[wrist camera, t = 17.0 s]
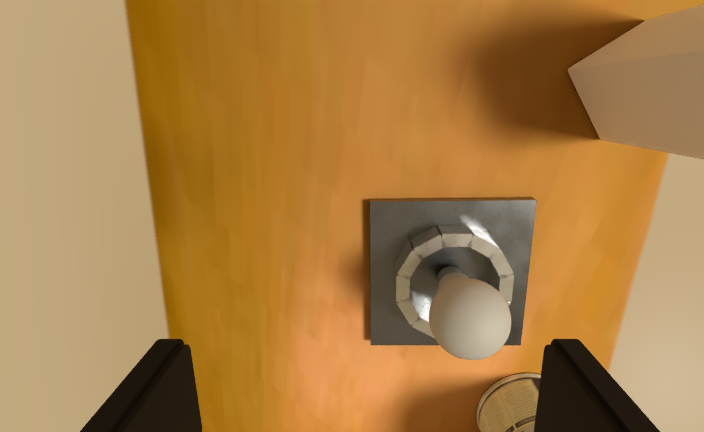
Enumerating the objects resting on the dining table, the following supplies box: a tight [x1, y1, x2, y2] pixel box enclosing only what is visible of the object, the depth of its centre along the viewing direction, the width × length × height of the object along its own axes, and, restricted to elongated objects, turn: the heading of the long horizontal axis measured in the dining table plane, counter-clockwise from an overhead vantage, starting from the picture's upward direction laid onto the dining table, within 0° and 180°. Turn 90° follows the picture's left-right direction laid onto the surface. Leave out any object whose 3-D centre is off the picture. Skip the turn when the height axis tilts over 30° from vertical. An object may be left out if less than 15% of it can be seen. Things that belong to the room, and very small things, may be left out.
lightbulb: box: [429, 266, 511, 360], centre depth 34 cm, size 6×6×11 cm
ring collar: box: [370, 197, 537, 345], centre depth 39 cm, size 15×15×4 cm
